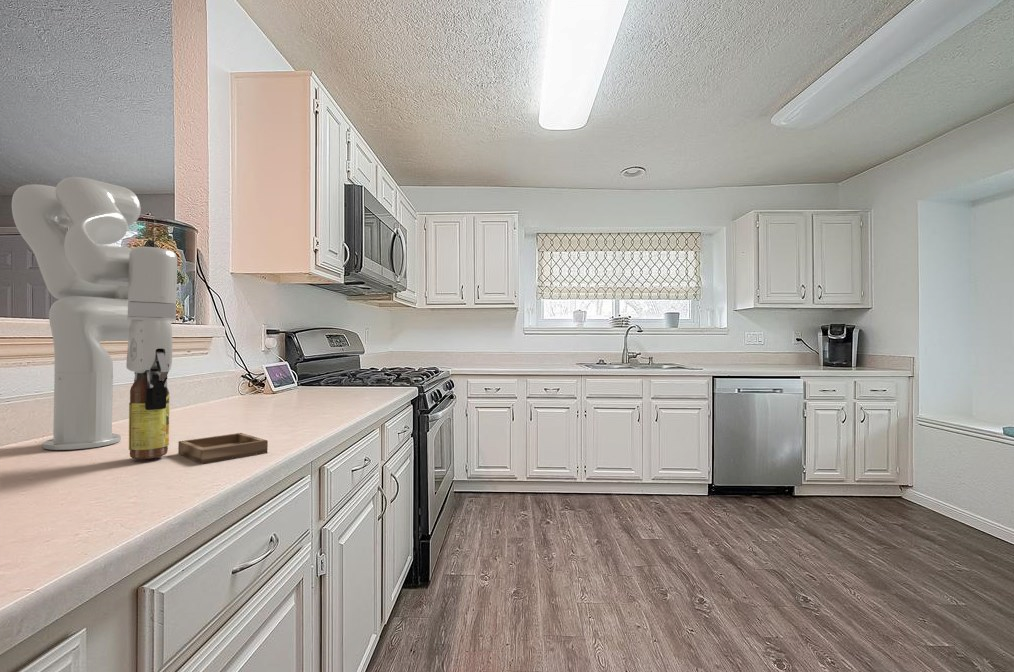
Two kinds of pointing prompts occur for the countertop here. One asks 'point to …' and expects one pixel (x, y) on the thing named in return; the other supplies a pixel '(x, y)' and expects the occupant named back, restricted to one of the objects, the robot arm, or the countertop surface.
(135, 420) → the sauce bottle
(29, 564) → the countertop surface
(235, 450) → the tray
